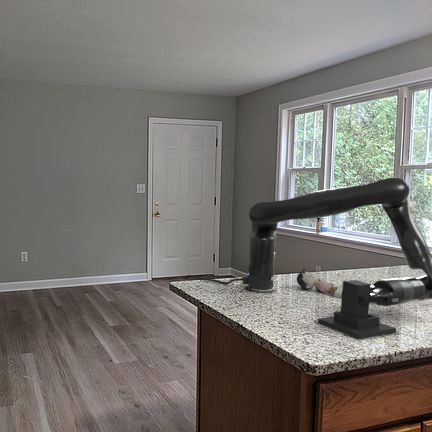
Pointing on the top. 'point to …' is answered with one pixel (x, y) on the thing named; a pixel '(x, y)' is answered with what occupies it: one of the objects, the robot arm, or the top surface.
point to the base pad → (357, 325)
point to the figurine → (314, 282)
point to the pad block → (354, 299)
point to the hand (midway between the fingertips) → (351, 297)
